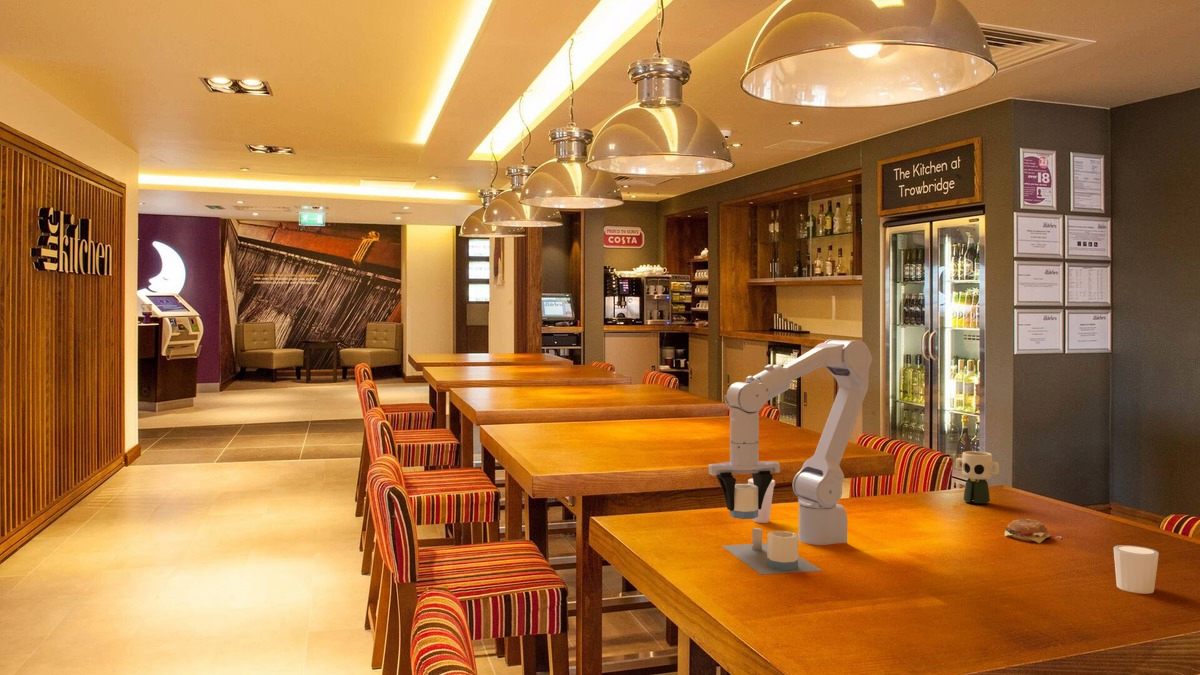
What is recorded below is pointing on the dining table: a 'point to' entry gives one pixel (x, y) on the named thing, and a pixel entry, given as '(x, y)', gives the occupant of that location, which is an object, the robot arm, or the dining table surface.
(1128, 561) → the white cup
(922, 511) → the dining table surface
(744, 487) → the sleeve
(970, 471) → the character mug
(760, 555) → the pin board
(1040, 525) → the hamburger
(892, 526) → the dining table surface
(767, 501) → the smoothie
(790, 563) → the seated sleeve
